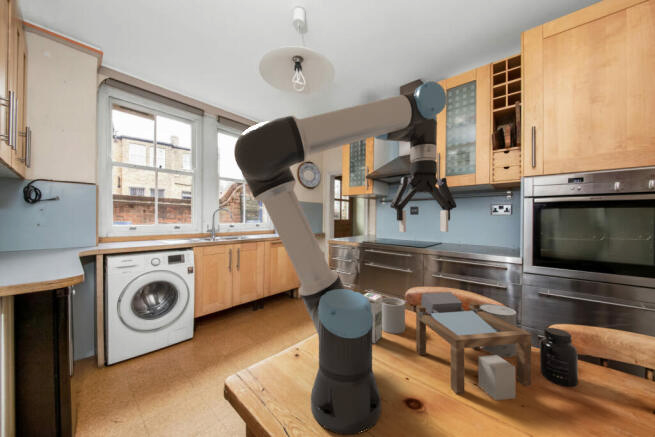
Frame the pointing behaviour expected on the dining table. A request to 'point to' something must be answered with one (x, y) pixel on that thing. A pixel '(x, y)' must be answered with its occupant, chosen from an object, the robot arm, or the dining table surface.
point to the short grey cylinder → (507, 316)
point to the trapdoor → (454, 314)
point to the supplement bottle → (559, 358)
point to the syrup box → (376, 315)
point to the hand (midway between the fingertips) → (423, 231)
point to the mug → (393, 315)
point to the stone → (496, 377)
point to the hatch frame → (476, 343)
